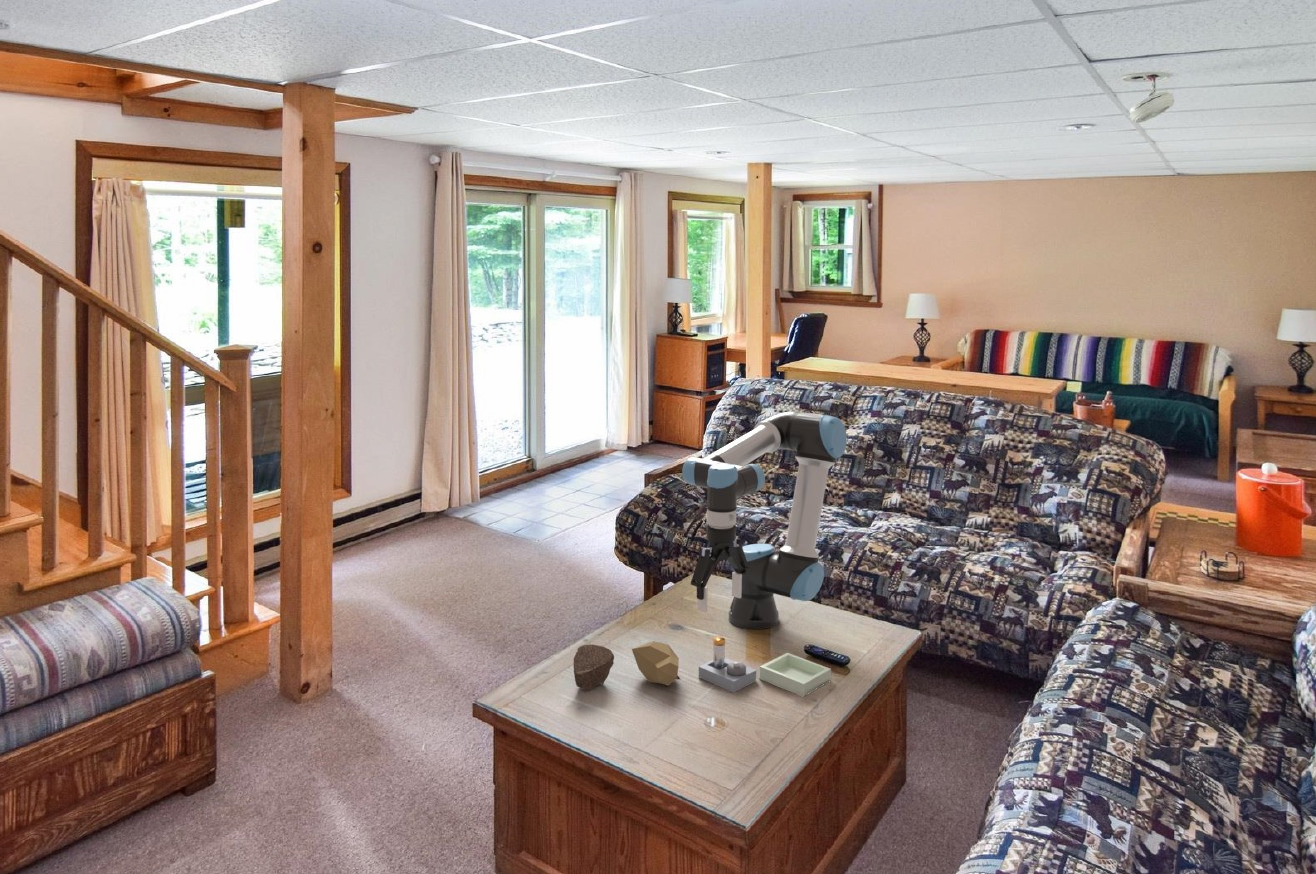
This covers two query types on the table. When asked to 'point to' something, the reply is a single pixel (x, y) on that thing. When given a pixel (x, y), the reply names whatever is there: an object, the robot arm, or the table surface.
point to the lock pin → (718, 652)
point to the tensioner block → (728, 675)
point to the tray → (795, 674)
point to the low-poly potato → (657, 662)
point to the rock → (592, 666)
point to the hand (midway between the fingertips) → (719, 603)
